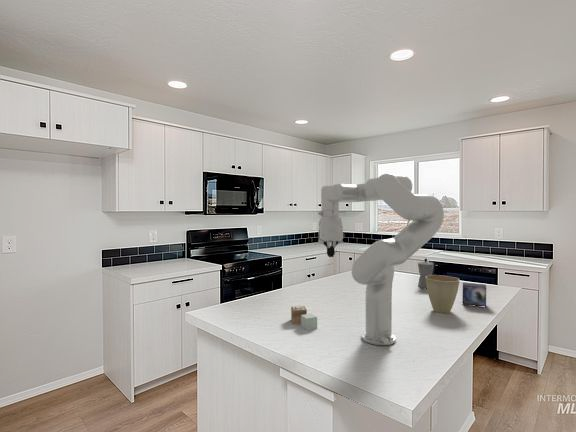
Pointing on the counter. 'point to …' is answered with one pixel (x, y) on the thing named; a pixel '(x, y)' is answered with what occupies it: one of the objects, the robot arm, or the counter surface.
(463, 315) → the counter surface
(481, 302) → the picture frame
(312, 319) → the sage block
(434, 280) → the plant pot
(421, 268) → the coffeepot
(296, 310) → the walnut block
